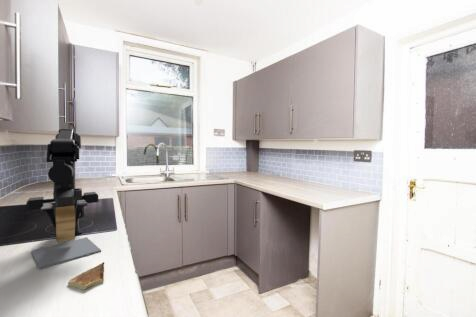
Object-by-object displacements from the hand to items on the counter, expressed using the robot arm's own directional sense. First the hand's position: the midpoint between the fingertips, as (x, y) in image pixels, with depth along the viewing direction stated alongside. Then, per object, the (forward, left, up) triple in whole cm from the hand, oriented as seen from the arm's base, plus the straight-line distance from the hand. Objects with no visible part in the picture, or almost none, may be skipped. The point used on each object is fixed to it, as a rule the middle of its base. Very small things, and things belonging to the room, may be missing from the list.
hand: (65, 225), depth 80 cm
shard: (+23, 0, -9) cm, 25 cm away
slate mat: (0, 0, -9) cm, 9 cm away
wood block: (-6, +1, -5) cm, 7 cm away
